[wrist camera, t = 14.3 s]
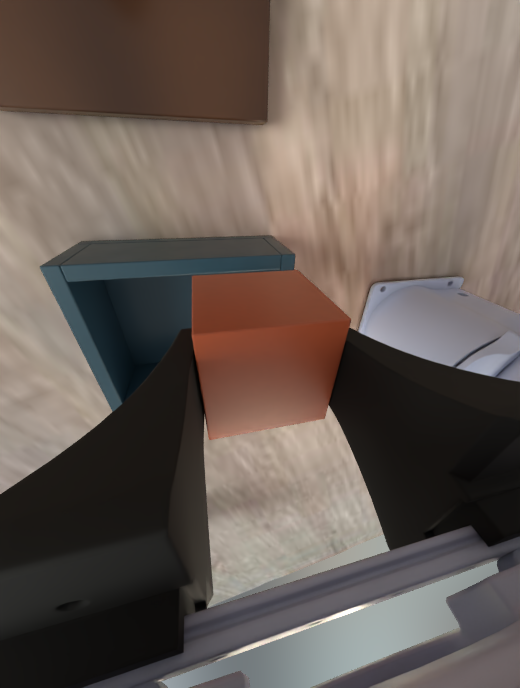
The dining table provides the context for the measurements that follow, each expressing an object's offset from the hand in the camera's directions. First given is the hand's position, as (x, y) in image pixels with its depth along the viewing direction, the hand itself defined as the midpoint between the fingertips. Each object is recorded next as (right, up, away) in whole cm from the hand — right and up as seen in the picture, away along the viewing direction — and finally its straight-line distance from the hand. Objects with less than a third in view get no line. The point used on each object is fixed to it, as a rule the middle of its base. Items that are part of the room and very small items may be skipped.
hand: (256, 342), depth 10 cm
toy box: (-5, +3, +9) cm, 10 cm away
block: (0, +1, +2) cm, 2 cm away
